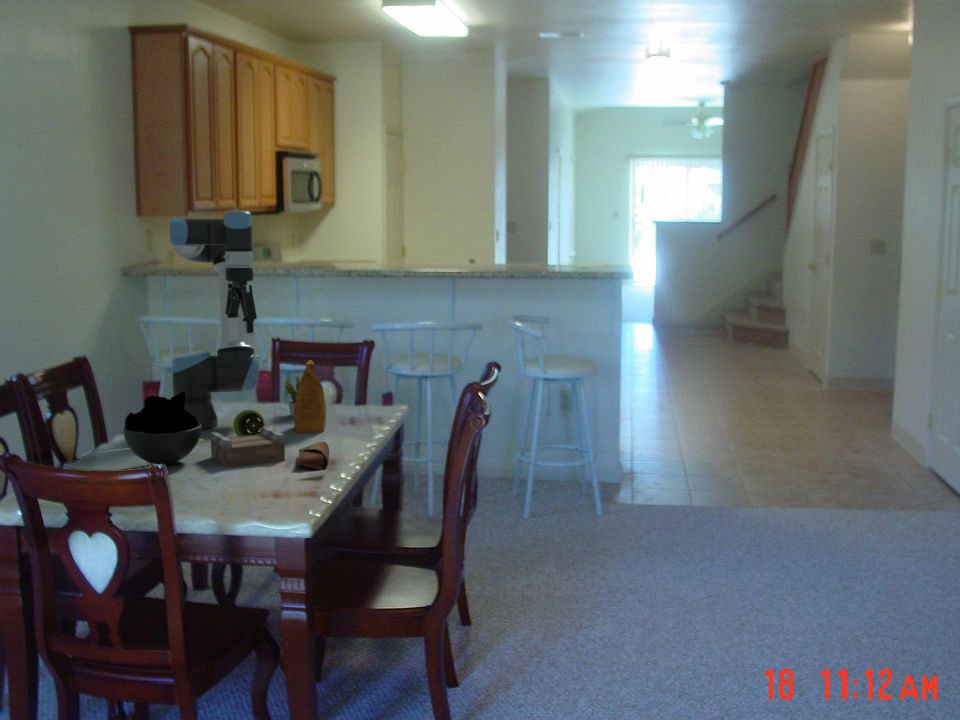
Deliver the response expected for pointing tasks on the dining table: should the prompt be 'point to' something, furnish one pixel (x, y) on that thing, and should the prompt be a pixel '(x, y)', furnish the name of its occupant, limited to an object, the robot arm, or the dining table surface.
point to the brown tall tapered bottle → (309, 403)
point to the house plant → (292, 393)
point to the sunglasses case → (314, 456)
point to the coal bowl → (162, 430)
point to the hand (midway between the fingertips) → (241, 342)
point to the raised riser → (248, 448)
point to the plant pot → (248, 423)
